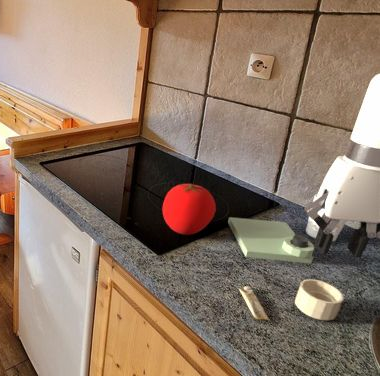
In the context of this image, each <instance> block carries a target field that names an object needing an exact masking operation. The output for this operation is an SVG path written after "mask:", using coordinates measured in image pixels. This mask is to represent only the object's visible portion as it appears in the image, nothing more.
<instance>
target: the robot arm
mask: <svg viewBox="0 0 380 376" xmlns="http://www.w3.org/2000/svg"><path fill="white" fill-rule="evenodd" d="M317 193H318V195H317V197H316V200H315V201H314V202H313V201H312V202H311V203H310V204H309V205H307V206H306V207H304V209H303V212H304V213H305V214H306V215H307V216H308V218H309V217H310V218H311V219H313V220H314V221H315V222H316V224H317V225H318V226H319V230H318V233H317V236H316V239H315V238H314V247H316V248H317V250H318V251H319V252H320V253H321V255H327V254H329V251H330V248H331V245H332V243H333V241H332V240H333V237H334V235H333V234H332V233H331V232H332V231H333V230H334V228H335V227H336V225H337V224H338V223H339V221H340V220H346V221H348V222H358V228H354V230H353V232H352V234H351V236H350V238H349V240H348V243H347V245H346V248H347V250H349V252H350V253H351V254H352V255H353V256H354V257H355V258H359V259H360V258H361V257H362V255H363V253H364V251H365V250H366V248H367V246H368V244H369V241H370V239H373V238H375V237H376V235H377V234H378V233H380V73H378V74H375V75H374V77H372V79H371V80H370V82H369V84H368V86H367V90H366V93H365V95H364V98H363V101H362V104H361V106H360V110H359V112H358V115H357V117H356V121H355V124H354V127H353V130H352V133H351V135H350V138H349V139H348V144H347V146H346V149H345V152H344V154H343V155H338V156H337V157H336V159H335V160H334V161H333V163H332V165H331V166H330V168H329V169H328V171H327V172H326V174H325V177H324V178H323V182H322V183H321V185H320V188H319V190H318V192H317ZM321 209H326V211H325V212H324V214H323V215H322V217H321V216H320V215H319V214H318V212H319V211H320V210H321Z"/></svg>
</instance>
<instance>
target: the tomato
mask: <svg viewBox="0 0 380 376" xmlns="http://www.w3.org/2000/svg"><path fill="white" fill-rule="evenodd" d="M216 209H217V207H216V202H215V199H214V197H213V195H212V194H211V192H210V191H209V190H208V189H206V188H205V187H203V186H201V185H198V184H193V183H191V182H190V183H182V184H177V185H176V186H174V187H172V188H171V189H170V190H169V191H168V192H167V193H166V195H165V197H164V200H163V204H162V215H163V216H162V217H163V219H164V221H165V224H166V225H167V226H168V227H169V228H170V229H171V230H172V231H173V232H176V233H177V234H180V235H183V236H191V235H195V234H197V233H199V232H200V231H202V230H204V229H205V228H206V227H207V226H208V225H209V224H210V222H211V221H212V220H213V218H214V217H215V213H216V211H217V210H216Z"/></svg>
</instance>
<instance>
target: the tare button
mask: <svg viewBox="0 0 380 376" xmlns="http://www.w3.org/2000/svg"><path fill="white" fill-rule="evenodd" d="M308 241H309V238H307V237H306V236H304V235H300V234H295V235H294V236H293V239H292V242H291V244H293V245H294V246H297V247H300V248H306V247H307V244H308ZM309 242H310V241H309Z"/></svg>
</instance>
